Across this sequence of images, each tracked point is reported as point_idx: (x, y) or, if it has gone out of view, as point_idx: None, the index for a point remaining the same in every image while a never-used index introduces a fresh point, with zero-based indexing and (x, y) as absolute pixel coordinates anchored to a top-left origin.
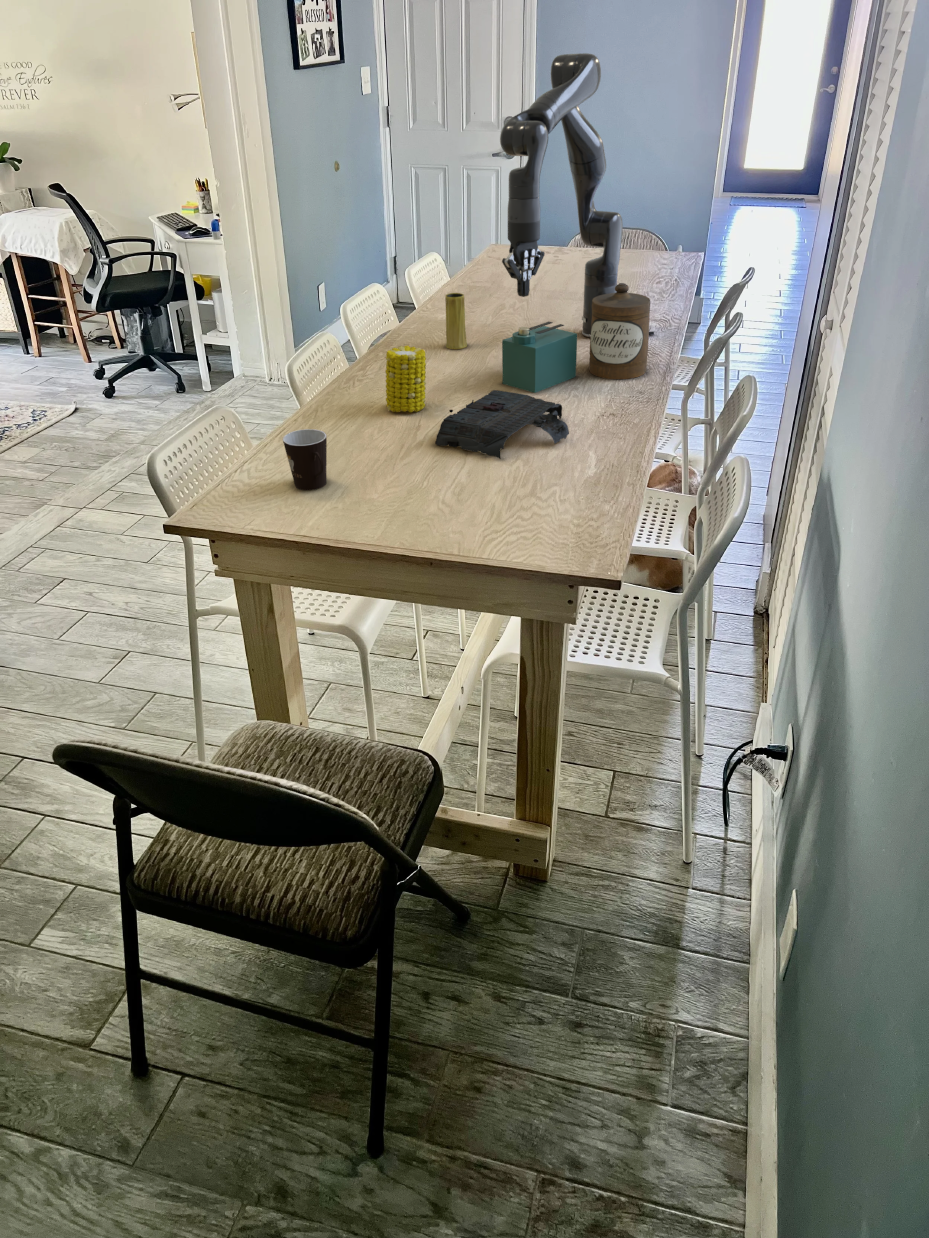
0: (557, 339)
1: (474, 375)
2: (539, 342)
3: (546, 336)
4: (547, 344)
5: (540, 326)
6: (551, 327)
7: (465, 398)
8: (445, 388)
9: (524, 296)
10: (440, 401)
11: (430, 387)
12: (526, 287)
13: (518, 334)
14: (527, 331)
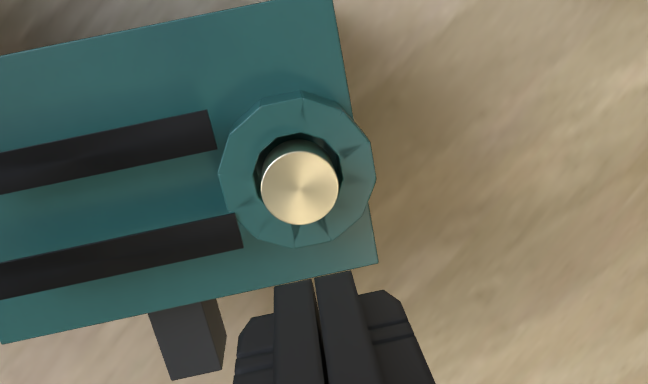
0: (86, 54)
1: None
2: (229, 79)
3: None
4: (206, 14)
5: (104, 243)
6: (48, 176)
7: (556, 135)
8: (534, 270)
9: (347, 273)
10: (640, 166)
11: (563, 308)
12: (329, 332)
13: None
14: (294, 148)
